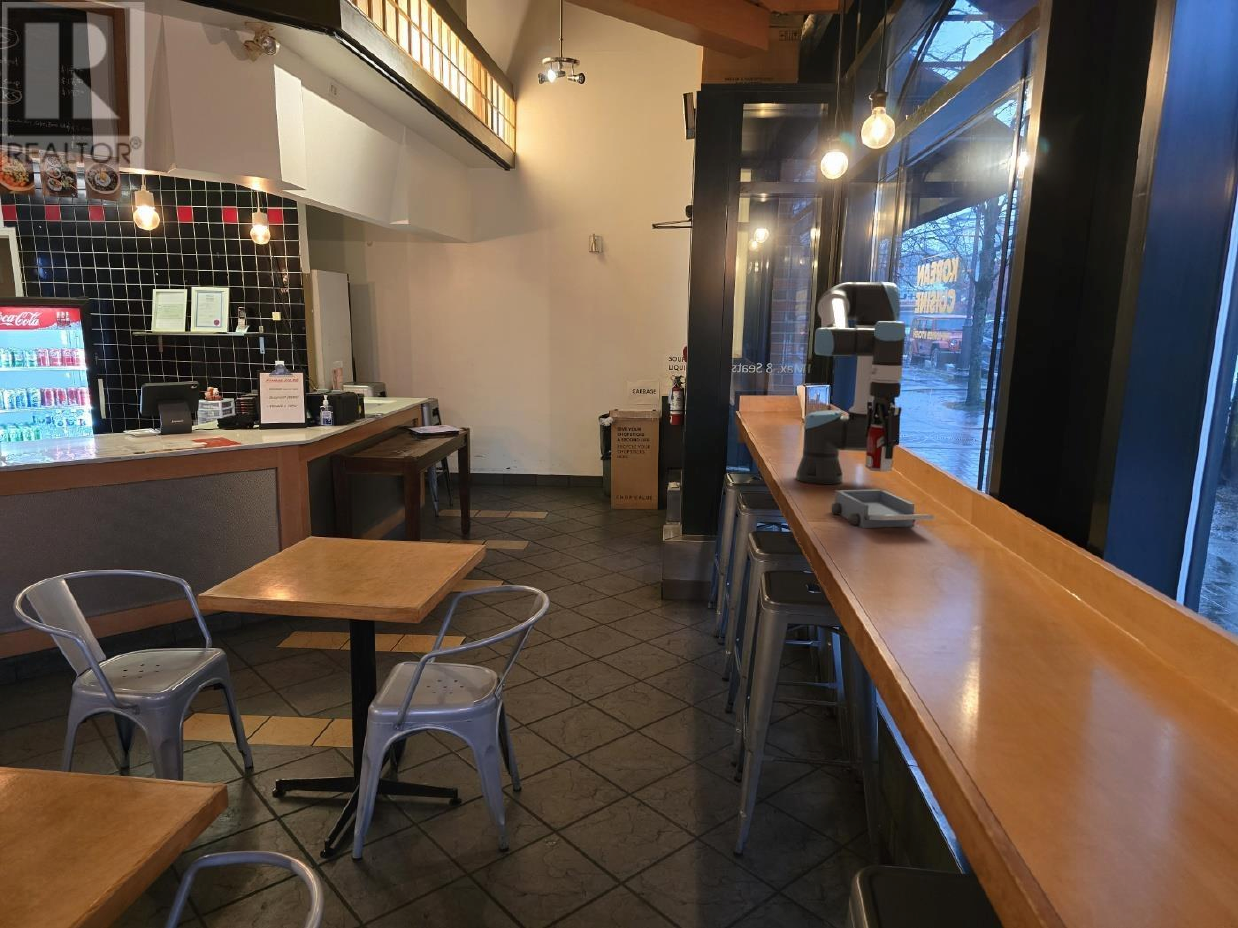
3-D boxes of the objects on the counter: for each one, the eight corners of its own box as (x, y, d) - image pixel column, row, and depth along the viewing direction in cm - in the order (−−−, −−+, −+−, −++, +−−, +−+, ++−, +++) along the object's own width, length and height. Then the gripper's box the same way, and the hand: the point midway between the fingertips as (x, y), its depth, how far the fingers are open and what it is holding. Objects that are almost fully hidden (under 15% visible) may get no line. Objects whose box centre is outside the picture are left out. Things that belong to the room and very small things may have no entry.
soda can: (866, 471, 195) (870, 426, 192) (863, 466, 201) (867, 422, 199) (893, 472, 193) (897, 427, 191) (889, 467, 200) (893, 424, 198)
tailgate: (864, 515, 191) (883, 515, 182) (913, 513, 193) (934, 514, 184) (864, 519, 191) (883, 520, 182) (913, 518, 193) (934, 519, 184)
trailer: (828, 511, 208) (830, 490, 207) (885, 509, 211) (887, 489, 210) (856, 528, 192) (858, 505, 191) (918, 525, 195) (920, 503, 193)
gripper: (854, 378, 202) (848, 461, 206) (891, 384, 183) (883, 475, 187) (880, 378, 203) (873, 460, 207) (919, 384, 184) (911, 475, 188)
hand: (878, 467), depth 197 cm, fingers closed on soda can, 7 cm apart
